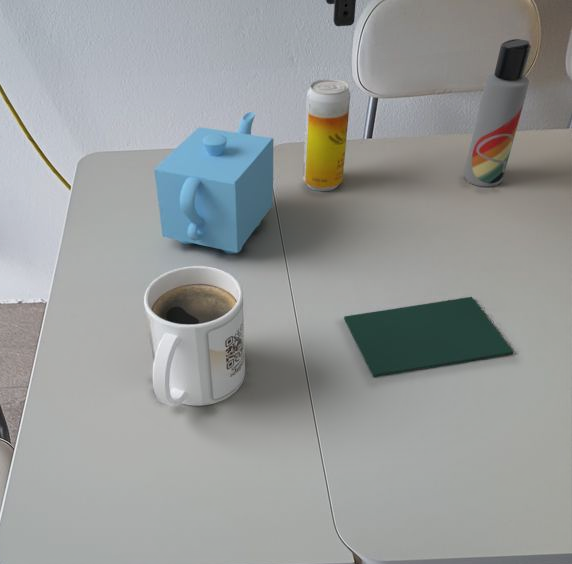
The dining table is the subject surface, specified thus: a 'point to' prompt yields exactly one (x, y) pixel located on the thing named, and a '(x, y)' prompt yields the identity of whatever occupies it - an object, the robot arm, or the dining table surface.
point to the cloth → (425, 336)
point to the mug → (196, 335)
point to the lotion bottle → (498, 115)
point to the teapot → (216, 187)
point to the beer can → (326, 133)
